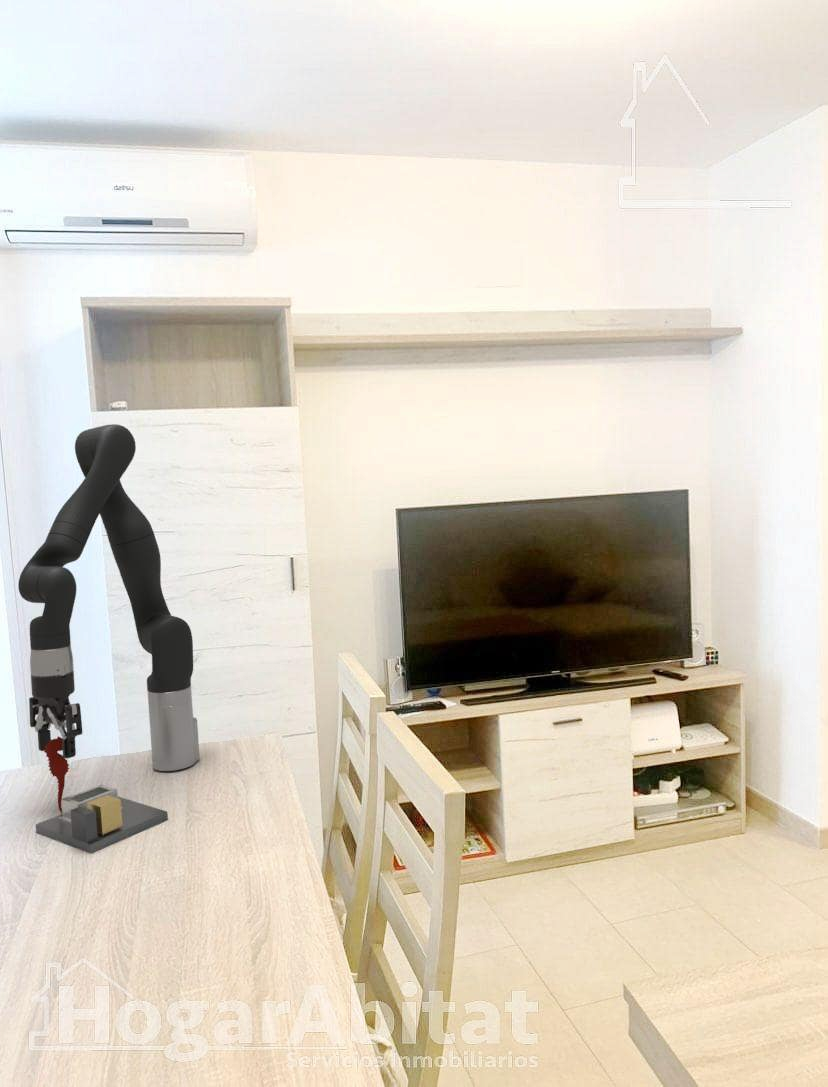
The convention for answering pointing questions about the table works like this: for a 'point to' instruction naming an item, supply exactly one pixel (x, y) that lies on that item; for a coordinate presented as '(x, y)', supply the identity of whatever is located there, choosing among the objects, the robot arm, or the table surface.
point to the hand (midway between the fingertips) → (57, 753)
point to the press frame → (82, 827)
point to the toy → (57, 765)
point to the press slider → (107, 813)
